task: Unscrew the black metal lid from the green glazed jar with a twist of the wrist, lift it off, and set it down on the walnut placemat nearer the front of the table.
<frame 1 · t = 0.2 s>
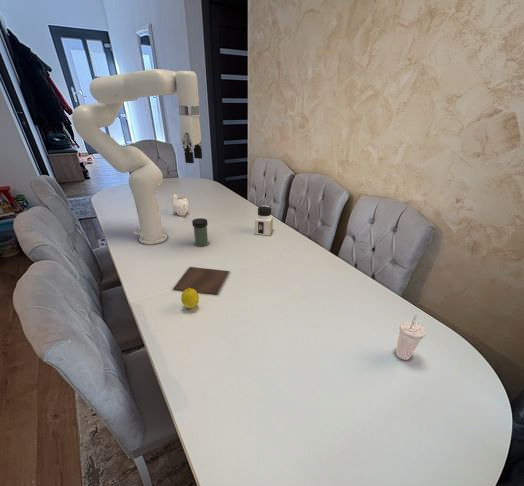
hand: (194, 160, 123), 36 cm above the table, tool pointing down, fingers open, 9 cm apart
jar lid: (199, 221, 137), point 11 cm above the table, screwed on, not yet turned
container: (263, 232, 156), on the table
fruit: (191, 308, 101), on the table
jar: (201, 243, 142), on the table
smoothie: (402, 355, 85), on the table
teapot: (181, 214, 175), on the table
placemat: (202, 280, 115), on the table
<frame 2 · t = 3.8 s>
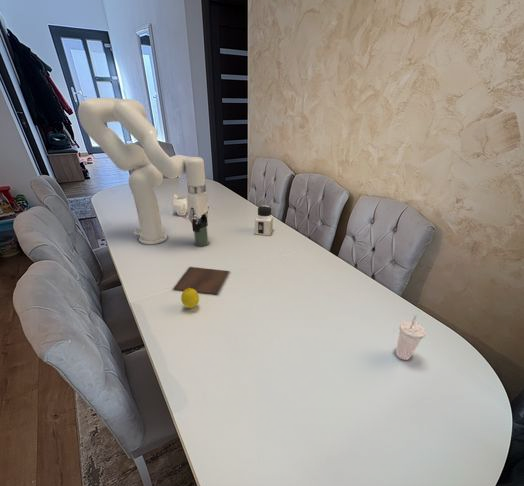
hand: (200, 228, 138), 8 cm above the table, tool pointing down, fingers closed on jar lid, 6 cm apart
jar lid: (199, 221, 137), point 11 cm above the table, screwed on, not yet turned, touching gripper
everything else where it was.
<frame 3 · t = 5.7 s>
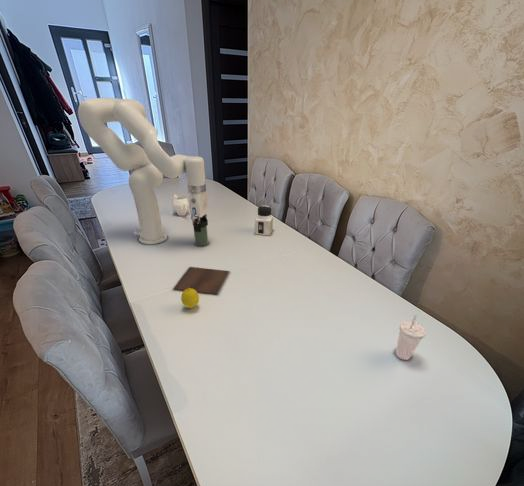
hand: (200, 228, 138), 8 cm above the table, tool pointing down, fingers closed on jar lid, 6 cm apart
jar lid: (200, 221, 136), point 11 cm above the table, off its thread, touching gripper
everything else where it was.
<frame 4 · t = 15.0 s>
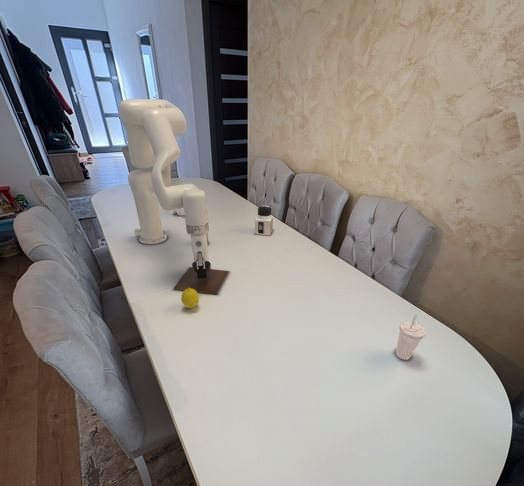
hand: (202, 272, 113), 4 cm above the table, tool pointing down, fingers closed on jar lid, 6 cm apart
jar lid: (201, 264, 112), point 7 cm above the table, off its thread, touching gripper
everything else where it was.
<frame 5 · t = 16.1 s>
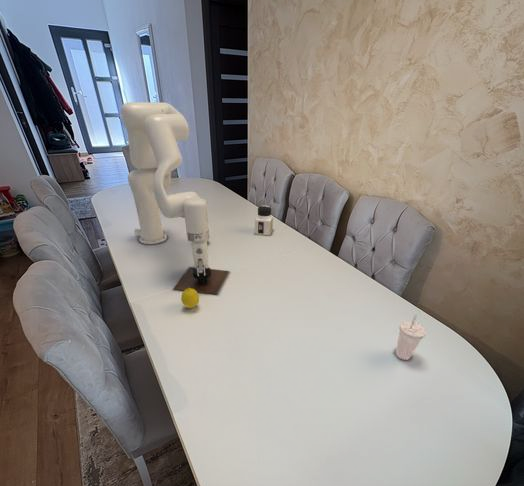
hand: (202, 278, 115), 1 cm above the table, tool pointing down, fingers closed on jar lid, 6 cm apart
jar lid: (201, 271, 113), point 4 cm above the table, off its thread, touching gripper
everything else where it was.
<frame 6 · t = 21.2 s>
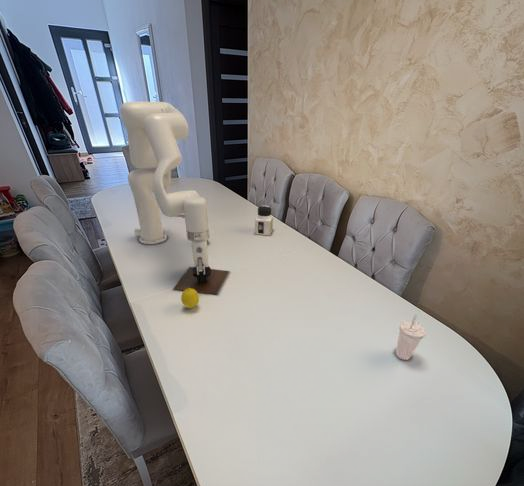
hand: (202, 277, 115), 1 cm above the table, tool pointing down, fingers closed on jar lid, 6 cm apart
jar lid: (201, 270, 113), point 5 cm above the table, off its thread, touching gripper
everything else where it was.
when the fingers open (2 cm above the table, at t = 26.3 s): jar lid drops 3 cm, resting on placemat.
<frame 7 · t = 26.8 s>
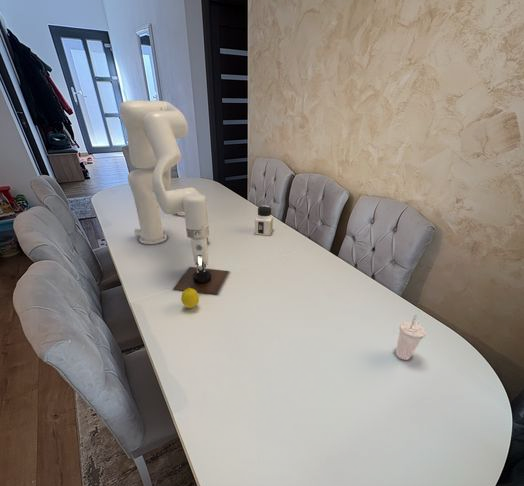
hand: (201, 274, 114), 3 cm above the table, tool pointing down, fingers open, 9 cm apart
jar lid: (202, 275, 114), point 2 cm above the table, off its thread, touching placemat
everything else where it was.
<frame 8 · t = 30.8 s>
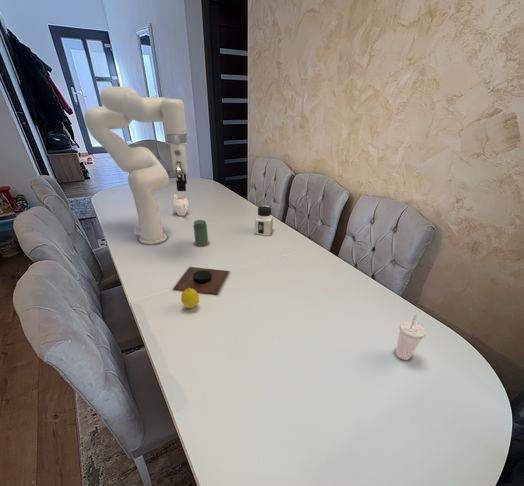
hand: (182, 187, 119), 28 cm above the table, tool pointing down, fingers open, 9 cm apart
nothing on the table moved.
at the end: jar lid inside the target area on the placemat (0.1 cm from its centre), point 2.1 cm above the placemat's base; the gripper is holding nothing; jar tilted 0° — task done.
